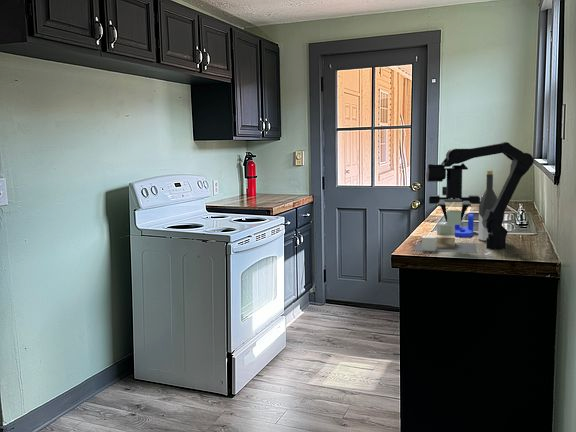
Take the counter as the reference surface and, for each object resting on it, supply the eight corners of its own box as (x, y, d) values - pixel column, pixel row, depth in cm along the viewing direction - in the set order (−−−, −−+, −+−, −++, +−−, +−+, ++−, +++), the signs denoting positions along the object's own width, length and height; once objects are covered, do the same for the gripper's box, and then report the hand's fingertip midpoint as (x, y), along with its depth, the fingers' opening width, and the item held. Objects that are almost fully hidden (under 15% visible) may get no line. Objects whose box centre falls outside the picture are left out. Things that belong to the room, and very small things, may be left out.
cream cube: (436, 248, 214) (436, 235, 213) (435, 250, 209) (435, 238, 209) (422, 248, 216) (422, 235, 215) (422, 250, 211) (422, 237, 210)
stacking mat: (475, 245, 223) (475, 223, 221) (477, 255, 204) (477, 231, 203) (417, 244, 229) (417, 223, 228) (413, 253, 210) (413, 230, 209)
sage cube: (460, 222, 214) (460, 210, 213) (460, 224, 209) (460, 211, 208) (446, 222, 215) (447, 210, 215) (447, 224, 210) (447, 211, 210)
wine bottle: (500, 244, 224) (502, 171, 220) (479, 244, 226) (481, 171, 222) (497, 241, 232) (498, 170, 228) (477, 240, 233) (478, 170, 230)
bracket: (455, 231, 261) (455, 212, 260) (473, 231, 258) (473, 213, 257) (451, 237, 245) (452, 217, 244) (471, 238, 242) (471, 217, 241)
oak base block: (454, 244, 221) (454, 234, 221) (454, 247, 214) (454, 237, 214) (436, 244, 223) (436, 234, 223) (436, 247, 216) (436, 237, 216)
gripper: (478, 180, 216) (477, 219, 217) (429, 180, 220) (428, 218, 222) (480, 181, 205) (479, 223, 207) (429, 182, 210) (428, 222, 212)
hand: (453, 221), depth 212 cm, fingers closed on sage cube, 5 cm apart
